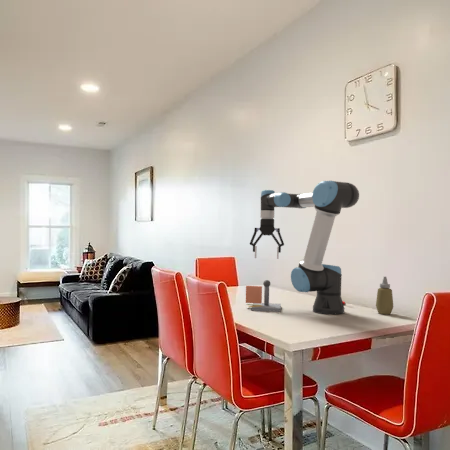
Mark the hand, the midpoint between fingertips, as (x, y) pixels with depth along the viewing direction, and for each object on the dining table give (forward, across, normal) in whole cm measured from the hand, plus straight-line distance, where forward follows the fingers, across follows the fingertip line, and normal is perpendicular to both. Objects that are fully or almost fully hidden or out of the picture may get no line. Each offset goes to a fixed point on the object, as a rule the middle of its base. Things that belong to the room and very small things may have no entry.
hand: (266, 258), depth 234 cm
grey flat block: (+24, 0, +18) cm, 30 cm away
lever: (+22, +3, +18) cm, 29 cm away
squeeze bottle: (+24, -58, +17) cm, 66 cm away
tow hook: (+24, -39, -9) cm, 47 cm away
